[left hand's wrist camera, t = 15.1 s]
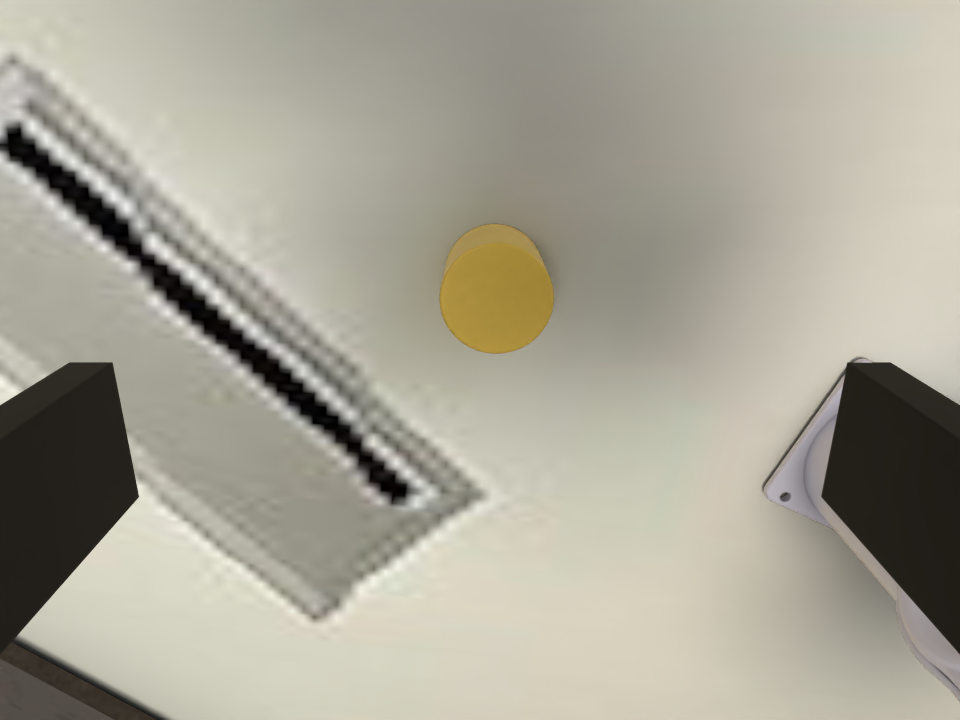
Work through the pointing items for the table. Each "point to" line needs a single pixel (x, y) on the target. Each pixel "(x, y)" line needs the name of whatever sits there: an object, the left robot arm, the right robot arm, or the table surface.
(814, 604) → the table surface
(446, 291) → the tin
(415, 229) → the table surface
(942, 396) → the left robot arm
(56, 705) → the toy
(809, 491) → the right robot arm
